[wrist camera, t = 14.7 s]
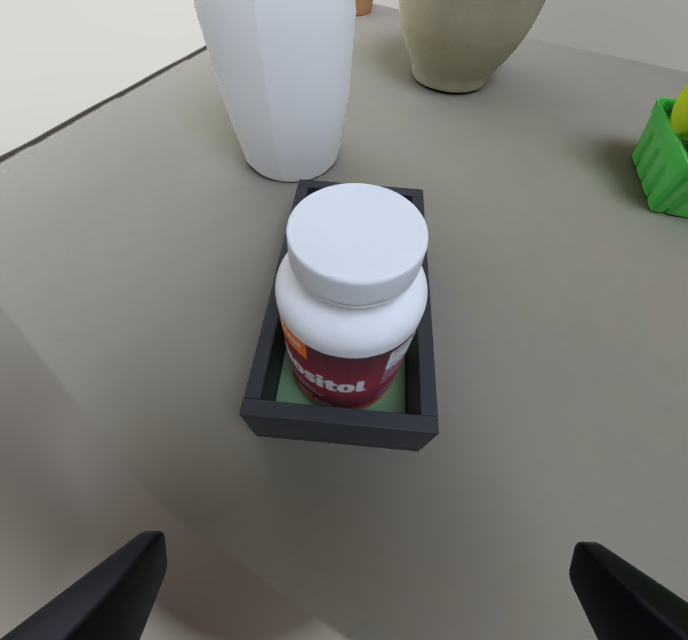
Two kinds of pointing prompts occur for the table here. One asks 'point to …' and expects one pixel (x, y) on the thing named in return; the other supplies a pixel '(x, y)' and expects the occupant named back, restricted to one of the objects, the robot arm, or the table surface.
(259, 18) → the bottle
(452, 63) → the planter bowl
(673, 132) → the fruit basket
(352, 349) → the pill bottle
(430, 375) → the tray
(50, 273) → the table surface
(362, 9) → the potted plant
